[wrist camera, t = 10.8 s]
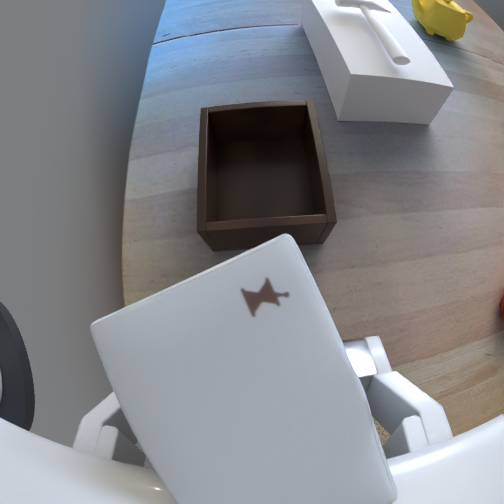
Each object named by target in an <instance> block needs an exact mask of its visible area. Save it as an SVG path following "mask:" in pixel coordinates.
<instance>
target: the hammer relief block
mask: <svg viewBox="0 0 504 504" xmlns="http://www.w3.org/2000/svg"><path fill="white" fill-rule="evenodd" d="M301 24H302V26H303V29H304V31H305V33H306V35H307V38H308V40H309V43H310V45H311V47H312V50H313V52H314V55H315V57H316V60H317V62H318V65H319V67H320V70H321V73H322V75H323V78H324V81H325V84H326V86H327V89H328V92H329V95H330V98H331V101H332V104H333V107H334V110H335V113H336V116H337V119H338V121H378V122H400V123H415V124H426V125H430V123H431V122H432V120H433V119H434V117H435V116H436V115H437V113H438V112H439V110H440V109H441V107H442V105H443V104H444V102H445V101H446V99H447V98H448V96H449V95H450V93H451V92H452V90H453V89H454V86H453V85H452V83H451V81H450V80H449V78H448V77H447V75H446V73H445V72H444V70H443V69H442V67H441V66H440V64H439V63H438V61H437V60H436V59H435V57H434V56H433V54H432V53H431V52H430V50H429V49H428V47H427V46H426V45H425V43H424V42H423V41H422V39H421V38H420V37H419V36H418V34H417V33H416V32H415V31H414V29H413V28H412V27H411V26H410V24H409V23H408V22H407V21H406V20H405V19H404V17H403V16H402V15H401V14H400V13H399V12H398V11H397V10H396V8H395V7H394V6H393V5H392V4H391V3H390V2H389V1H388V0H302V20H301Z"/></svg>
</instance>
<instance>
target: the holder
mask: <svg viewBox="0 0 504 504" xmlns="http://www.w3.org/2000/svg"><path fill="white" fill-rule="evenodd" d="M336 223H337V221H336V214H335V207H334V201H333V195H332V189H331V183H330V178H329V172H328V167H327V161H326V156H325V151H324V146H323V141H322V137H321V132H320V128H319V123H318V119H317V114H316V110H315V106H314V102H313V100H306V101H305V100H290V101H268V102H253V103H242V104H231V105H222V106H214V107H209V108H208V107H207V108H201V115H200V133H199V156H198V189H197V232H198V234H199V235H200V236H201V237H202V239H203V240H204V241H205V242H206V243H207V245H208V246H209V247H210V248H211V249H212V251H223V250H238V249H253V248H255V247H257V246H259V245H261V244H263V243H265V242H267V241H270V240H272V239H274V238H276V237H278V236H280V235H282V234H289V235H291V236H292V237H293V238H294V240H295V242H296V244H297V245H312V244H323V243H324V242H325V240H326V239H327V237H328V236H329V234H330V232H331V231H332V229H333V228H334V226H335V224H336Z"/></svg>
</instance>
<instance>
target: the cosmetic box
mask: <svg viewBox="0 0 504 504" xmlns="http://www.w3.org/2000/svg"><path fill="white" fill-rule="evenodd" d="M91 334H92V336H93V339H94V342H95V344H96V347H97V350H98V353H99V356H100V358H101V361H102V364H103V366H104V369H105V371H106V374H107V376H108V379H109V381H110V383H111V386H112V388H113V391H114V393H115V395H116V398H117V400H118V402H119V404H120V407H121V409H122V411H123V413H124V415H125V417H126V419H127V421H128V423H129V425H130V427H131V429H132V431H133V433H134V434H135V436H136V438H137V440H138V442H139V444H140V445H141V447H142V449H143V451H144V452H145V454H146V456H147V458H148V459H149V461H150V462H151V464H152V466H153V468H154V469H155V471H156V472H157V474H158V476H159V477H160V479H161V480H162V482H163V483H164V485H165V486H166V488H167V489H168V491H169V492H170V494H171V495H172V497H173V498H174V500H175V501H176V502H177V504H390V503H392V502H394V501H395V500H396V498H397V495H398V491H397V488H396V485H395V482H394V479H393V476H392V474H391V471H390V468H389V465H388V462H387V459H386V456H385V453H384V450H383V448H382V445H381V442H380V439H379V436H378V434H377V431H376V428H375V425H374V422H373V419H372V414H371V410H370V406H369V403H368V400H367V397H366V394H365V392H364V389H363V386H362V384H361V381H360V379H359V377H358V375H357V373H356V371H355V370H354V368H353V366H352V364H351V361H350V359H349V357H348V354H347V352H346V350H345V347H344V345H343V343H342V340H341V338H340V336H339V333H338V331H337V329H336V327H335V324H334V322H333V320H332V318H331V315H330V313H329V311H328V309H327V306H326V304H325V302H324V300H323V298H322V296H321V293H320V291H319V289H318V287H317V285H316V283H315V280H314V278H313V276H312V274H311V272H310V270H309V268H308V266H307V264H306V262H305V260H304V258H303V256H302V254H301V251H300V249H299V247H298V246H297V244H296V242H295V240H294V238H293V237H292V236H291V235H289V234H282V235H280V236H278V237H276V238H274V239H272V240H270V241H267V242H265V243H263V244H261V245H259V246H257V247H255V248H253V249H250V250H248V251H246V252H244V253H242V254H240V255H238V256H236V257H233V258H231V259H229V260H227V261H225V262H223V263H220V264H218V265H216V266H214V267H212V268H210V269H207V270H205V271H203V272H201V273H199V274H197V275H194V276H192V277H190V278H188V279H186V280H184V281H181V282H179V283H177V284H175V285H173V286H170V287H168V288H166V289H164V290H162V291H160V292H157V293H155V294H153V295H151V296H149V297H147V298H144V299H142V300H140V301H138V302H136V303H133V304H131V305H129V306H127V307H125V308H122V309H120V310H118V311H116V312H114V313H112V314H109V315H107V316H105V317H103V318H100V319H98V320H96V321H95V322H93V323H92V324H91Z"/></svg>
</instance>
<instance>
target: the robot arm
mask: <svg viewBox="0 0 504 504" xmlns="http://www.w3.org/2000/svg"><path fill="white" fill-rule="evenodd" d="M342 343H343V345H344V347H345V350H346V352H347V354H348V357H349V359H350V361H351V364H352V366H353V368H354V370H355V371H356V373H357V375H358V377H359V379H360V381H361V384H362V386H363V389H364V392H365V394H366V397H367V400H368V403H369V406H370V410H371V414H372V416H373V417H374V418H375V419H376V420H377V421H378V422H379V423H380V424H381V425H382V426H383V427H384V428H385V430H386V431H387V432H388V433H389V434H390V435H391V436H390V438H389V439H388V440H387V441H386V443H385V444H384V445H383V446H382V448H383V450H384V453H385V456H386V459H387V462H388V465H389V468H390V471H391V474H392V476H393V479H394V482H395V485H396V488H397V491H398V495H397V498H396V500H395V501H394V502H392V503H390V504H504V413H503V414H501V415H500V416H498V417H496V418H494V419H492V420H490V421H488V422H486V423H484V424H482V425H480V426H478V427H476V428H473V429H471V430H469V431H467V432H464V433H462V434H460V435H457V436H455V437H453V435H452V432H451V429H450V426H449V423H448V420H447V417H446V415H445V412H444V409H443V407H442V406H441V405H440V404H439V403H437V402H436V401H435V400H434V399H432V398H431V397H430V396H428V395H427V394H426V393H424V392H423V391H422V390H420V389H419V388H418V387H416V386H415V385H414V384H412V383H411V382H410V381H409V380H407V379H406V378H405V377H403V376H402V375H401V374H399V373H398V372H397V371H394V372H392V369H391V366H390V364H389V361H388V358H387V356H386V353H385V350H384V348H383V345H382V343H381V340H380V338H379V337H378V336H372V337H365V338H356V339H349V340H342ZM1 398H2V377H1V371H0V402H1ZM137 442H138V440H137V438H136V436H135V434H134V433H133V431H132V429H131V427H130V425H129V423H128V421H127V419H126V417H125V415H124V413H123V411H122V409H121V407H120V404H119V402H118V400H117V398H116V395H115V393H114V392H112V393H111V394H110V395H109V396H108V397H107V398H106V399H104V400H103V401H102V402H101V403H100V404H98V405H97V406H96V407H95V408H94V409H93V410H91V411H90V412H89V413H88V414H87V415H86V416H84V417H83V418H82V420H81V422H80V425H79V428H78V431H77V434H76V437H75V440H74V444H73V447H72V448H70V447H67V446H64V445H61V444H58V443H56V442H53V441H51V440H48V439H45V438H43V437H40V436H38V435H36V434H34V433H31V432H29V431H27V430H25V429H22V428H20V427H18V426H16V425H14V424H12V423H10V422H8V421H6V420H4V419H2V418H0V504H177V502H176V501H175V500H174V498H173V497H172V495H171V494H170V492H169V491H168V489H167V488H166V486H165V485H164V483H163V482H162V480H161V479H160V477H159V476H158V474H157V472H156V471H155V469H153V468H148V467H144V462H145V457H146V456H145V454H144V453H143V452H142V451H141V450H140V449H138V447H136V446H135V444H136V443H137Z"/></svg>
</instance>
